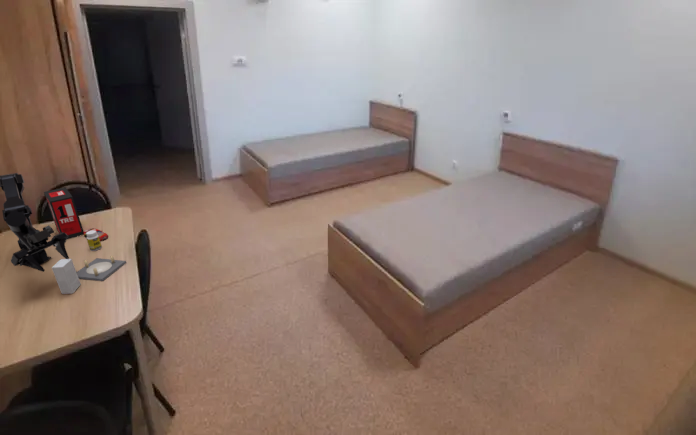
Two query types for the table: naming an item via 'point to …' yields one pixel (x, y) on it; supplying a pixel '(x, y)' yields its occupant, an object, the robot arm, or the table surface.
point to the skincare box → (66, 276)
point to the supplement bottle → (93, 240)
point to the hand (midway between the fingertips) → (56, 265)
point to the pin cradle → (99, 269)
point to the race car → (101, 234)
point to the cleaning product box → (64, 212)
